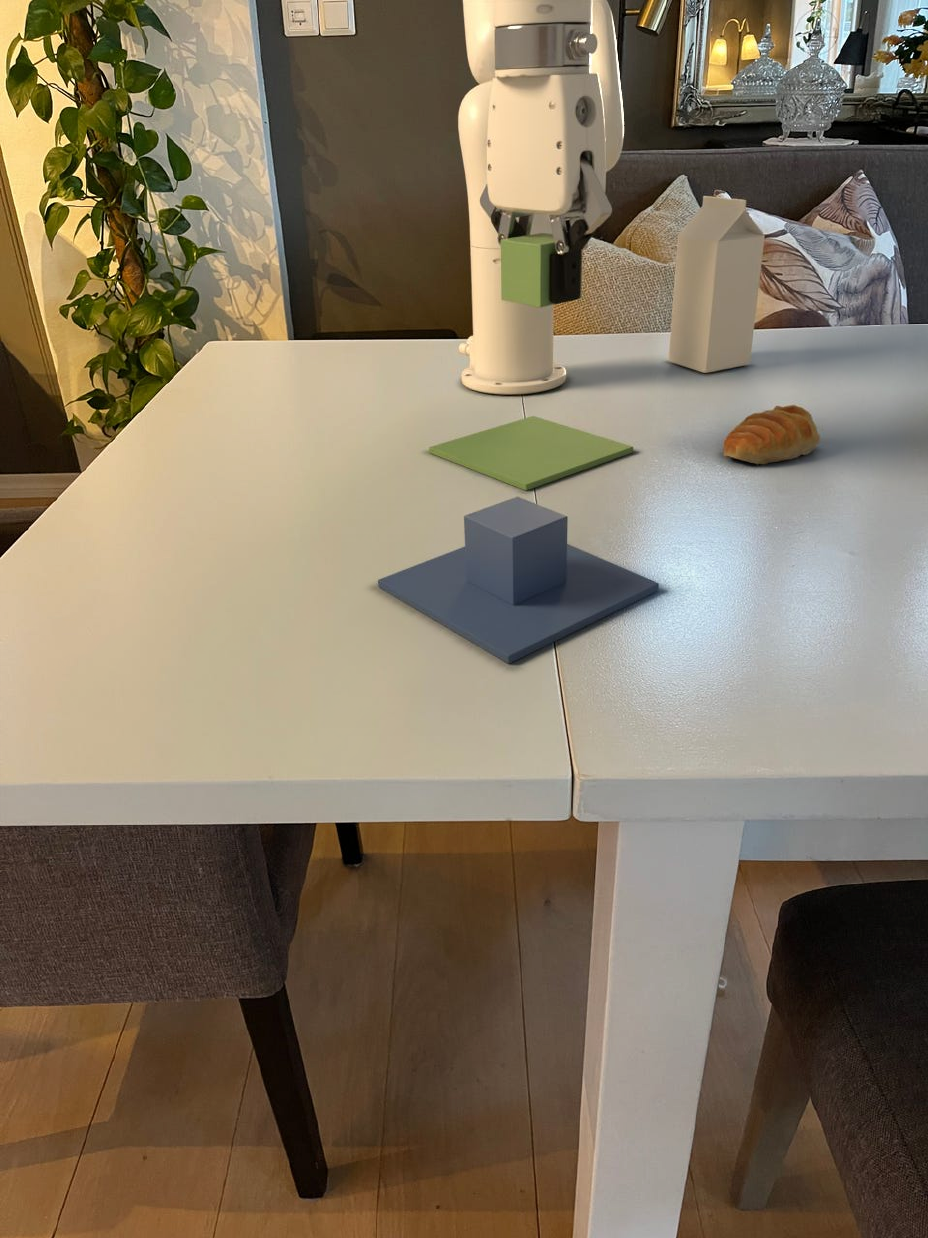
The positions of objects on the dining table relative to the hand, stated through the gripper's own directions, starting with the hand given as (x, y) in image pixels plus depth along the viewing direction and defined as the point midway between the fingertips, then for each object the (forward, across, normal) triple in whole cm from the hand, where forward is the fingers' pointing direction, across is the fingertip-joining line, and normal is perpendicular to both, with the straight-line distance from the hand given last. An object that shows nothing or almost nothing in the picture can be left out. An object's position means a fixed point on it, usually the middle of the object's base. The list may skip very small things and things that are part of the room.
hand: (541, 294), depth 81 cm
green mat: (+15, +1, 0) cm, 15 cm away
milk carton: (+15, +9, -38) cm, 42 cm away
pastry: (+15, -15, -16) cm, 26 cm away
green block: (0, 0, 0) cm, 0 cm away
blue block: (+14, -18, +20) cm, 31 cm away
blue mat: (+15, -18, +20) cm, 31 cm away
